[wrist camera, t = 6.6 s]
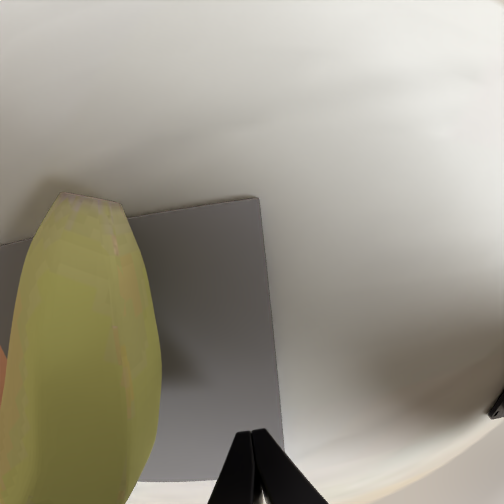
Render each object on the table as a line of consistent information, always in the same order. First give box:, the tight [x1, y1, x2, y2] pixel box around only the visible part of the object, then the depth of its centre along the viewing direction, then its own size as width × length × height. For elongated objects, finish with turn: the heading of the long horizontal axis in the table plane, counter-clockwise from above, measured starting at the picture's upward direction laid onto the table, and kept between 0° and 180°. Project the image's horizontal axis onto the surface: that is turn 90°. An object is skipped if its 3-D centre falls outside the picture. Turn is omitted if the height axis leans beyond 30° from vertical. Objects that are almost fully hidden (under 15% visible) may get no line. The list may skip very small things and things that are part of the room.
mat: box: [0, 198, 285, 482], centre depth 9 cm, size 10×12×1 cm
